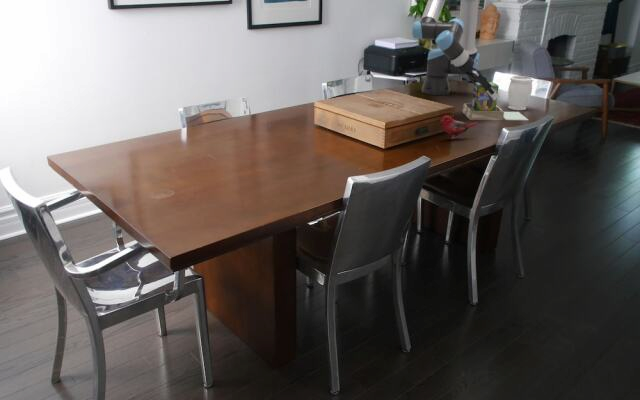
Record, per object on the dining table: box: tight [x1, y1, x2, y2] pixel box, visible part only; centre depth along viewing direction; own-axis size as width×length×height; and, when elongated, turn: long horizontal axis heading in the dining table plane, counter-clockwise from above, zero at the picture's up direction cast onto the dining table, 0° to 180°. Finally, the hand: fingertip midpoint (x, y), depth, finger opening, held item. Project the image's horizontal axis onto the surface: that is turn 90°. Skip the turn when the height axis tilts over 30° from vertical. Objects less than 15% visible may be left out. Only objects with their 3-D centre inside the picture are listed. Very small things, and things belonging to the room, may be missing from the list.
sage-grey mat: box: [503, 111, 529, 122], centre depth 244 cm, size 14×10×1 cm
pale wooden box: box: [462, 103, 505, 121], centre depth 243 cm, size 15×15×4 cm
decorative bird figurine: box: [440, 115, 480, 140], centre depth 209 cm, size 3×18×10 cm, turn 106°
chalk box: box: [471, 75, 499, 111], centre depth 239 cm, size 9×9×15 cm
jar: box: [507, 75, 534, 111], centre depth 255 cm, size 11×10×15 cm
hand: (490, 95), depth 240 cm, fingers closed on chalk box, 10 cm apart
